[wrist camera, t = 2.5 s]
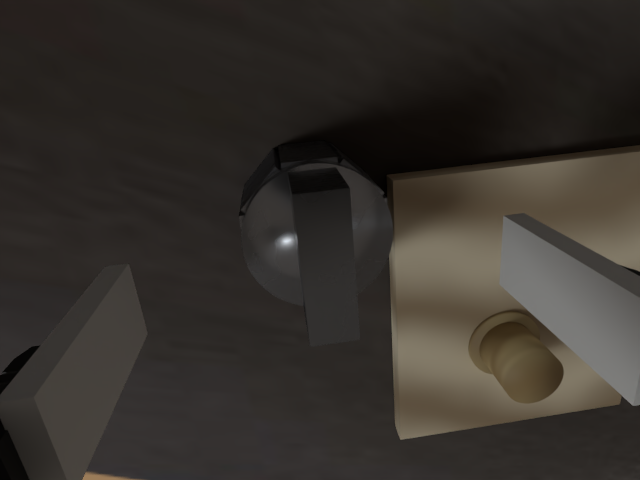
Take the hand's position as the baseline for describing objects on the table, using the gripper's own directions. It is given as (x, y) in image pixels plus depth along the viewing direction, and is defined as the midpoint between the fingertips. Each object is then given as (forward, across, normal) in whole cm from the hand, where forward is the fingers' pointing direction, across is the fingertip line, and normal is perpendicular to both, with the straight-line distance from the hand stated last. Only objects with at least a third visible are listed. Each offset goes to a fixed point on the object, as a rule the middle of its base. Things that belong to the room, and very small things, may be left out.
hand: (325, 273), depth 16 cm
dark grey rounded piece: (+7, 0, 0) cm, 7 cm away
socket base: (+7, +11, -6) cm, 15 cm away
